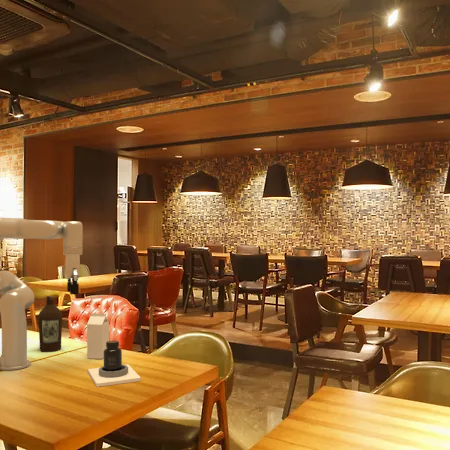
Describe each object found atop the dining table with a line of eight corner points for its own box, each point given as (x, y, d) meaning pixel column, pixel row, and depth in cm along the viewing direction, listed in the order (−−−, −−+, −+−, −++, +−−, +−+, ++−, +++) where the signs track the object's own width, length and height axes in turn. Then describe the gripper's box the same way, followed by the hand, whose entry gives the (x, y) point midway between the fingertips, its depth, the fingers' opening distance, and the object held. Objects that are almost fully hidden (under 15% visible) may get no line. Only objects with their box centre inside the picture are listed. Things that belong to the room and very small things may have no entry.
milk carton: (102, 359, 213) (102, 315, 213) (87, 358, 214) (86, 314, 215) (109, 355, 220) (109, 312, 220) (94, 354, 221) (94, 312, 221)
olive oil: (38, 348, 234) (38, 295, 234) (62, 346, 238) (61, 294, 238) (38, 353, 224) (37, 298, 224) (62, 351, 228) (62, 297, 228)
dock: (96, 387, 176) (96, 378, 176) (87, 372, 194) (87, 364, 194) (140, 381, 182) (140, 372, 182) (128, 367, 200) (128, 359, 200)
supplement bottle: (125, 371, 190) (125, 340, 190) (114, 376, 184) (114, 344, 184) (111, 369, 193) (111, 338, 193) (99, 374, 187) (99, 342, 187)
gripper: (61, 250, 210) (61, 290, 210) (65, 252, 194) (65, 295, 194) (79, 250, 213) (79, 289, 213) (85, 252, 197) (85, 294, 197)
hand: (72, 292), depth 203 cm, fingers open, 9 cm apart
